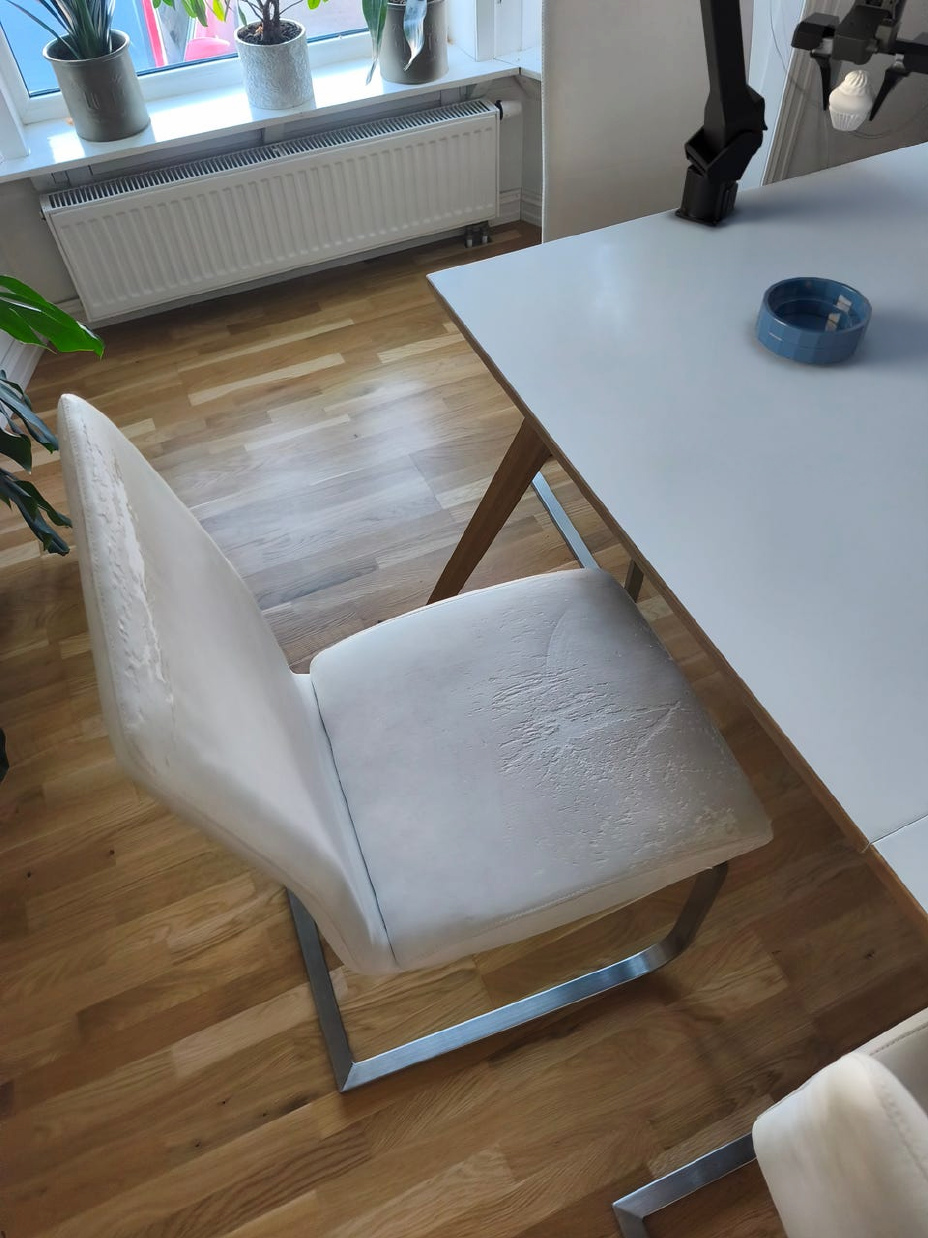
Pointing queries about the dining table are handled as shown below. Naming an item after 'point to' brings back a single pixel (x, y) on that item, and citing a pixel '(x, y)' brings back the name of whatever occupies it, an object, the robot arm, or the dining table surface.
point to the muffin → (852, 101)
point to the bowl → (813, 319)
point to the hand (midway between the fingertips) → (848, 114)
